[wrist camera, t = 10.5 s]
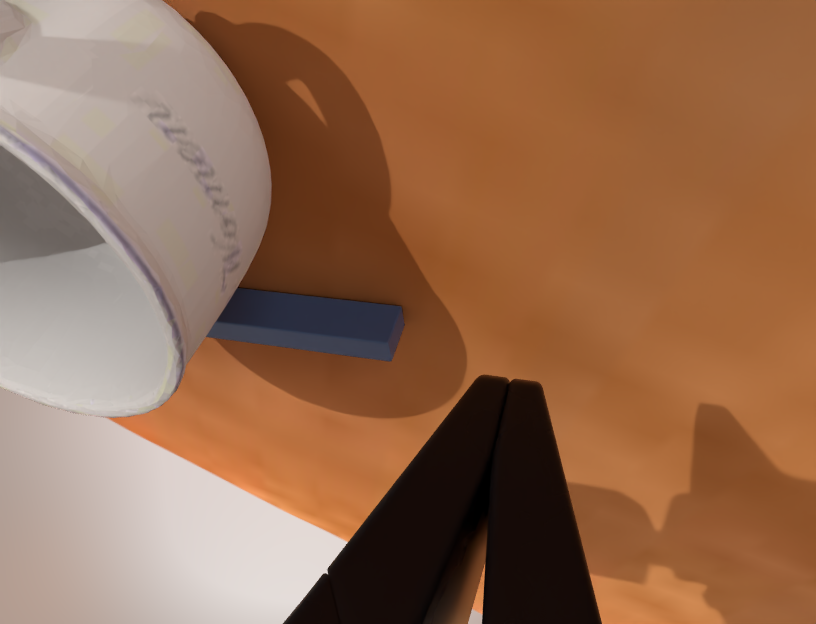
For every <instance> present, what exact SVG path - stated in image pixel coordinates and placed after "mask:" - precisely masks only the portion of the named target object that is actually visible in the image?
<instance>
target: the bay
mask: <svg viewBox="0 0 816 624" xmlns="http://www.w3.org/2000/svg"><path fill="white" fill-rule="evenodd" d="M404 325H405V324H404V318H403V312H402V307H401V306H394V305H385V304H376V303H368V302H359V301H350V300H341V299H332V298H323V297H314V296H305V295H296V294H287V293H278V292H270V291H261V290H252V289H243V288H237V289H236V290H235V292H234V294H233V295H232V297H231V299H230V300H229V302H228V304H227V305H226V307H225V308H224V310H223V311H222V313H221V314H220V316H219V317H218V319H217V320H216V322H215V323H214V325H213V326H212V328H211V330H210V331H209V333H208V334H207V336H206V337H211V338H218V339H226V340H233V341H241V342H248V343H256V344H263V345H271V346H278V347H286V348H293V349H300V350H308V351H315V352H323V353H330V354H338V355H345V356H353V357H360V358H368V359H375V360H382V361H392V359H393V356H394V353H395V351H396V348H397V345H398V342H399V339H400V336H401V334H402V331H403V328H404Z"/></svg>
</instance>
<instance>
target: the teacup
mask: <svg viewBox="0 0 816 624" xmlns="http://www.w3.org/2000/svg"><path fill="white" fill-rule="evenodd" d="M271 188H272V184H271V171H270V164H269V159H268V154H267V150H266V146H265V142H264V138H263V135H262V132H261V130H260V127H259V124H258V121H257V119H256V117H255V115H254V112H253V110H252V108H251V106H250V104H249V101H248V99H247V98H246V96H245V94H244V92H243V91H242V89H241V87H240V86H239V84H238V82H237V80H236V79H235V77H234V76H233V74H232V73H231V71H230V70H229V68H228V67H227V65H226V64H225V63H224V62H223V60H222V59H221V58H220V57H219V55H218V54H217V53H216V52H215V50H214V49H213V48H212V47H211V45H210V44H209V43H208V42H207V41H206V40H205V39H204V38H203V37H202V35H201V34H200V33H199V32H198V31H197V30H196V29H195V28H194V27H193V26H192V25H190V24H189V23H188V22H187V21H186V20H185V19H184V18H183V17H182V16H181V15H180V14H179V13H178V12H177V11H176V10H174V9H173V8H172V7H170V6H169V5H168V4H166V3H165V2H164V1H162V0H0V388H3V389H5V390H8V391H10V392H13V393H15V394H17V395H20V396H22V397H25V398H27V399H30V400H32V401H34V402H37V403H39V404H42V405H45V406H50V407H53V408H57V409H61V410H65V411H68V412H72V413H77V414H85V415H91V416H98V417H110V418H116V417H130V416H134V415H139V414H144V413H148V412H150V411H151V410H154V409H156V408H158V407H159V406H161V405H163V404H164V402H166V401H167V400H168V399H169V398H170V397H171V396H172V394H173V393H174V392H175V391H176V390H177V388H178V386H179V384H180V382H181V380H182V378H183V375H184V372H185V367H186V365H187V363H188V362H189V360H190V359H191V357H192V356H193V354H194V353H195V352H196V350H197V349H198V347H199V346H200V344H201V343H202V341H203V340H204V338H205V337H206V336H207V334H208V333H209V331H210V330H211V328H212V326H213V325H214V323H215V322H216V320H217V319H218V317H219V316H220V314H221V313H222V311H223V310H224V308H225V307H226V305H227V304H228V302H229V300H230V299H231V297H232V295H233V294H234V292H235V290H236V289H237V287H238V285H239V284H240V282H241V280H242V279H243V277H244V275H245V274H246V272H247V270H248V268H249V266H250V264H251V262H252V260H253V258H254V256H255V254H256V252H257V250H258V248H259V246H260V243H261V241H262V238H263V235H264V232H265V230H266V227H267V222H268V217H269V212H270V206H271Z"/></svg>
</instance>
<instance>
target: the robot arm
mask: <svg viewBox="0 0 816 624" xmlns="http://www.w3.org/2000/svg"><path fill="white" fill-rule="evenodd" d="M485 561H486V563H485ZM484 564H485V581H484V599H483V619H482V624H602V622H601V618H600V614H599V610H598V606H597V602H596V598H595V594H594V590H593V586H592V582H591V578H590V574H589V570H588V566H587V562H586V558H585V554H584V550H583V546H582V543H581V539H580V535H579V531H578V527H577V523H576V519H575V515H574V511H573V507H572V503H571V499H570V495H569V491H568V487H567V483H566V479H565V475H564V471H563V467H562V463H561V459H560V455H559V451H558V447H557V443H556V439H555V435H554V431H553V427H552V423H551V419H550V415H549V411H548V407H547V403H546V399H545V395H544V391H543V388H542V385H541V384H540V383H539V382H536V381H528V380H521V379H514V380H512V381H511V382H510V381H509V380H508V379H507V378H505V377H498V376H491V375H481V376H479V377H478V378H477V379H476V380H475V381H474V382H473V384H472V385H471V386H470V387H469V389H468V390H467V391H466V393H465V394H464V395H463V396H462V398H461V399H460V400H459V401H458V403H457V404H456V405H455V407H454V408H453V409H452V410H451V412H450V413H449V414H448V416H447V417H446V418H445V419H444V421H443V422H442V423H441V424H440V426H439V427H438V428H437V430H436V431H435V432H434V433H433V435H432V436H431V437H430V438H429V440H428V441H427V442H426V444H425V445H424V446H423V447H422V449H421V450H420V451H419V453H418V454H417V455H416V456H415V458H414V459H413V460H412V461H411V463H410V464H409V465H408V467H407V468H406V469H405V470H404V472H403V473H402V474H401V476H400V477H399V478H398V479H397V481H396V482H395V483H394V484H393V486H392V487H391V488H390V490H389V491H388V492H387V493H386V495H385V496H384V497H383V498H382V500H381V501H380V502H379V504H378V505H377V506H376V507H375V509H374V510H373V511H372V513H371V514H370V515H369V516H368V518H367V519H366V520H365V521H364V523H363V524H362V525H361V527H360V528H359V529H358V530H357V532H356V533H355V534H354V536H353V537H352V538H351V539H350V541H349V542H348V543H347V544H346V546H345V547H344V548H343V550H342V551H341V552H340V553H339V555H338V556H337V557H336V559H335V560H334V561H333V562H332V564H331V565H330V566H329V567H328V574H326V573H325V574H323V575H322V576H321V577H320V578H319V580H318V581H317V582H316V584H315V585H314V586H313V587H312V589H311V590H310V591H309V593H308V594H307V595H306V596H305V598H304V599H303V600H302V601H301V602H300V604H299V605H298V606H297V607H296V609H295V610H294V611H293V612H292V613H291V615H290V616H289V617H288V618H287V619H286V621H285V622H284V623H283V624H468V621H469V617H470V614H471V610H472V607H473V603H474V600H475V596H476V593H477V589H478V585H479V582H480V578H481V575H482V571H483V568H484Z"/></svg>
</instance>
